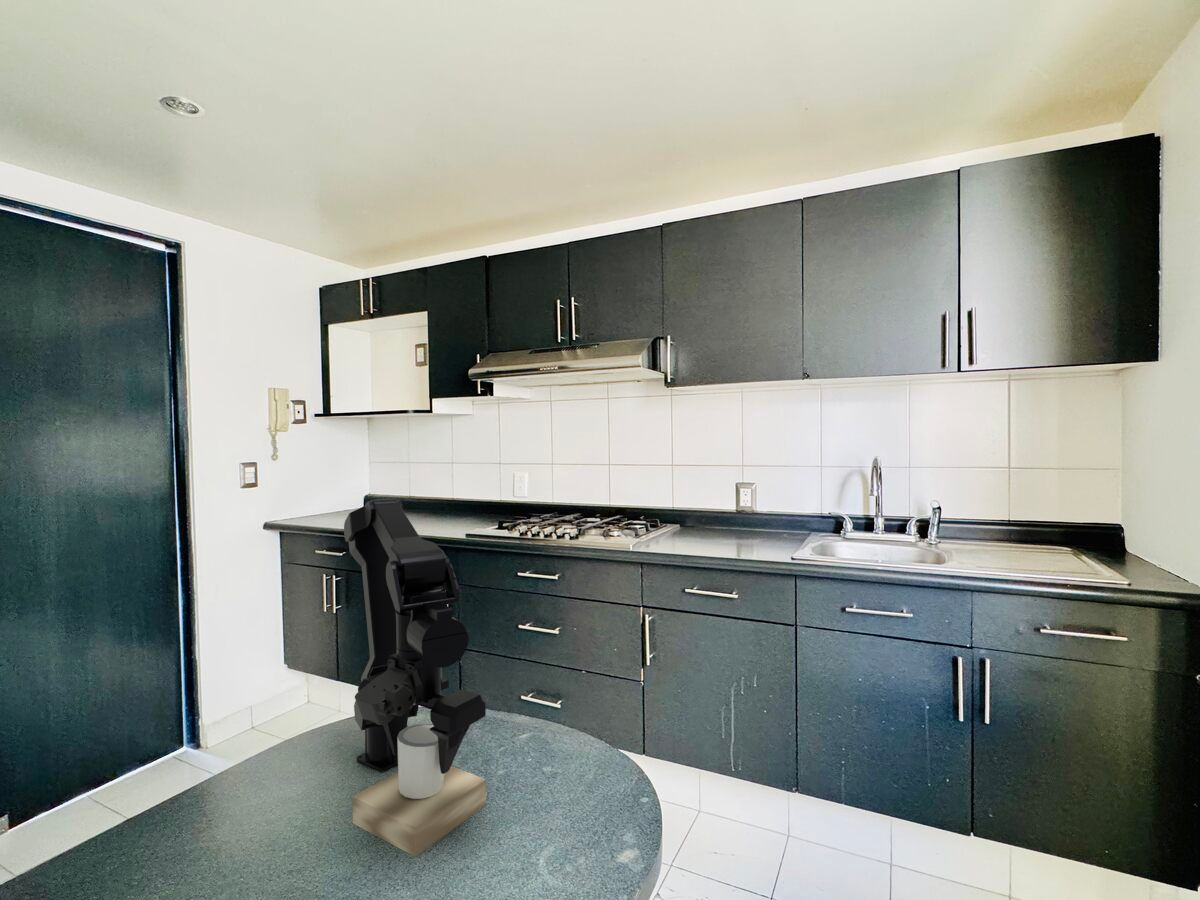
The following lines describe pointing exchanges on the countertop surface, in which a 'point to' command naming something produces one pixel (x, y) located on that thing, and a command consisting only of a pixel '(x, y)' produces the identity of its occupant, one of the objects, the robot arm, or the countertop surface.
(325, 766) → the countertop surface
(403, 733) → the shot glass
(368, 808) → the birch block
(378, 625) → the robot arm
